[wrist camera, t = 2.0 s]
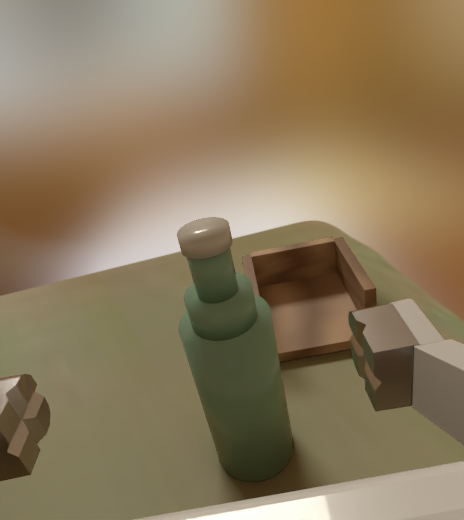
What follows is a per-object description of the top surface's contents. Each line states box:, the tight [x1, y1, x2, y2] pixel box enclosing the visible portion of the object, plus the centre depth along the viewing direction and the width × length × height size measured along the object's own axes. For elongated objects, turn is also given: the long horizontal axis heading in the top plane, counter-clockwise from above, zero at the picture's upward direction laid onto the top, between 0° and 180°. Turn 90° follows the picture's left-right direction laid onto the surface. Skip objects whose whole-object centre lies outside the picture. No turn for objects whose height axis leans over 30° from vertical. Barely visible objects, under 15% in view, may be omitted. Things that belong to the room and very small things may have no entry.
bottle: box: [177, 217, 293, 482], centre depth 27 cm, size 6×6×18 cm
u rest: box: [242, 237, 376, 362], centre depth 42 cm, size 12×12×5 cm
